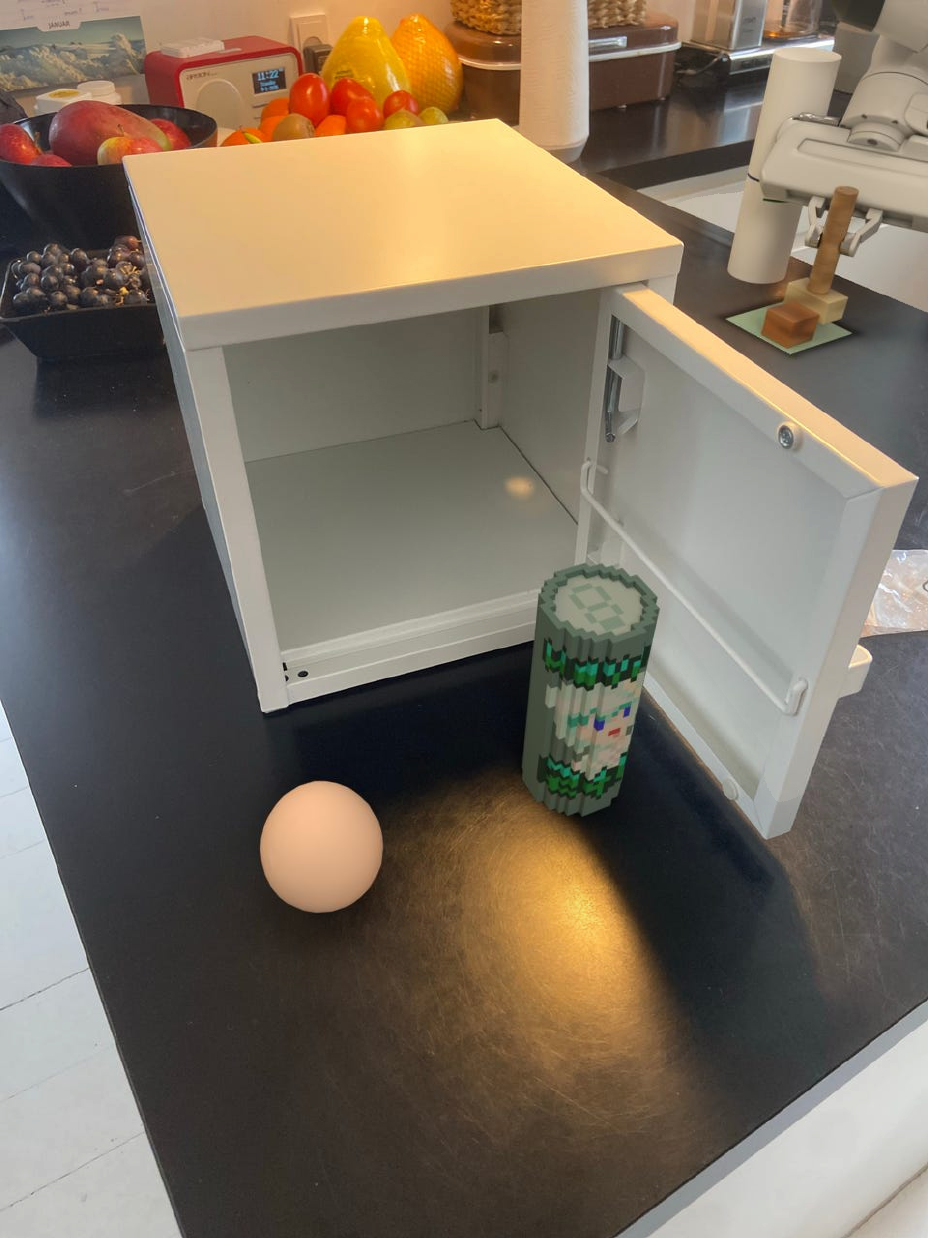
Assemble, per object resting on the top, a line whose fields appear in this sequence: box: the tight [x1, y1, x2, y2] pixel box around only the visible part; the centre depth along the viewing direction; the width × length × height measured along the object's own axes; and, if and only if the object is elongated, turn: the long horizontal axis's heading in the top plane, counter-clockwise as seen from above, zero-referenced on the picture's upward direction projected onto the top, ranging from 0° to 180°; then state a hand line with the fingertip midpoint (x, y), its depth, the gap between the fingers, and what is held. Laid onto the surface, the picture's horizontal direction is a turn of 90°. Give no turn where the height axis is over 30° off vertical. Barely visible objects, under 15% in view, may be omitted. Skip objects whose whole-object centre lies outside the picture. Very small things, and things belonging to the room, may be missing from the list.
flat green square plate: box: [725, 301, 853, 355], centre depth 105 cm, size 10×10×1 cm
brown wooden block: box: [761, 301, 819, 348], centre depth 101 cm, size 4×4×3 cm
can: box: [521, 562, 661, 817], centre depth 53 cm, size 6×6×15 cm
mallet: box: [782, 186, 859, 325], centre depth 98 cm, size 6×3×13 cm, turn 32°
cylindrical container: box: [726, 46, 842, 285], centre depth 108 cm, size 7×7×25 cm
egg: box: [259, 780, 384, 914], centre depth 50 cm, size 7×7×8 cm
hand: (828, 249), depth 97 cm, fingers closed on mallet, 2 cm apart
